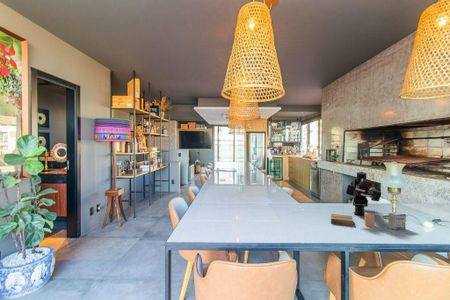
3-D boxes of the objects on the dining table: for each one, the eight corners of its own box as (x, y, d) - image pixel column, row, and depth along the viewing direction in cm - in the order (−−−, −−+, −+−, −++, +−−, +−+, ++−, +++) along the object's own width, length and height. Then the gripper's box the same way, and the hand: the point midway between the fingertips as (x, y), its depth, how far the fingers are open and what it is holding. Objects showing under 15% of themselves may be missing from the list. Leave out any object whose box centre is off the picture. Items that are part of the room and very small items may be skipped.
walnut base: (331, 218, 160) (331, 213, 160) (351, 220, 155) (351, 216, 155) (331, 223, 149) (331, 218, 149) (353, 226, 144) (353, 221, 144)
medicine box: (395, 230, 138) (395, 215, 138) (388, 227, 142) (388, 212, 142) (405, 229, 140) (406, 214, 140) (398, 226, 144) (398, 212, 144)
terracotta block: (364, 223, 149) (364, 212, 149) (373, 224, 147) (373, 213, 147) (365, 226, 145) (365, 214, 144) (374, 227, 143) (374, 215, 143)
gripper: (349, 174, 162) (351, 181, 147) (381, 181, 155) (386, 189, 141) (345, 189, 164) (346, 198, 150) (376, 197, 158) (380, 206, 144)
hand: (364, 197), depth 146 cm, fingers open, 9 cm apart
